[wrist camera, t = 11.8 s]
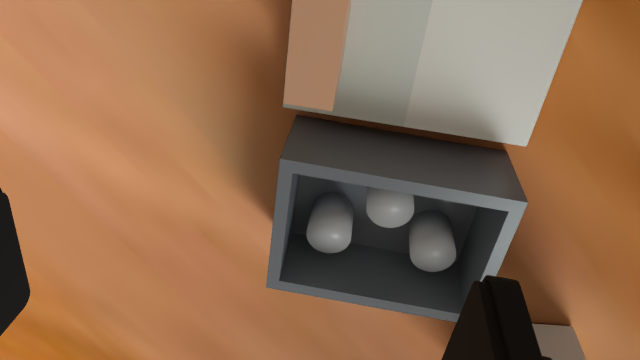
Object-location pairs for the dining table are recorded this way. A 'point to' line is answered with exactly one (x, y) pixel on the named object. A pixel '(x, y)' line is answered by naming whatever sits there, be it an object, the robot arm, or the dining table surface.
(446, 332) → the dining table surface
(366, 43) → the lid
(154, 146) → the dining table surface
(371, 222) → the tub
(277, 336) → the dining table surface
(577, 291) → the dining table surface
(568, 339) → the milk carton
